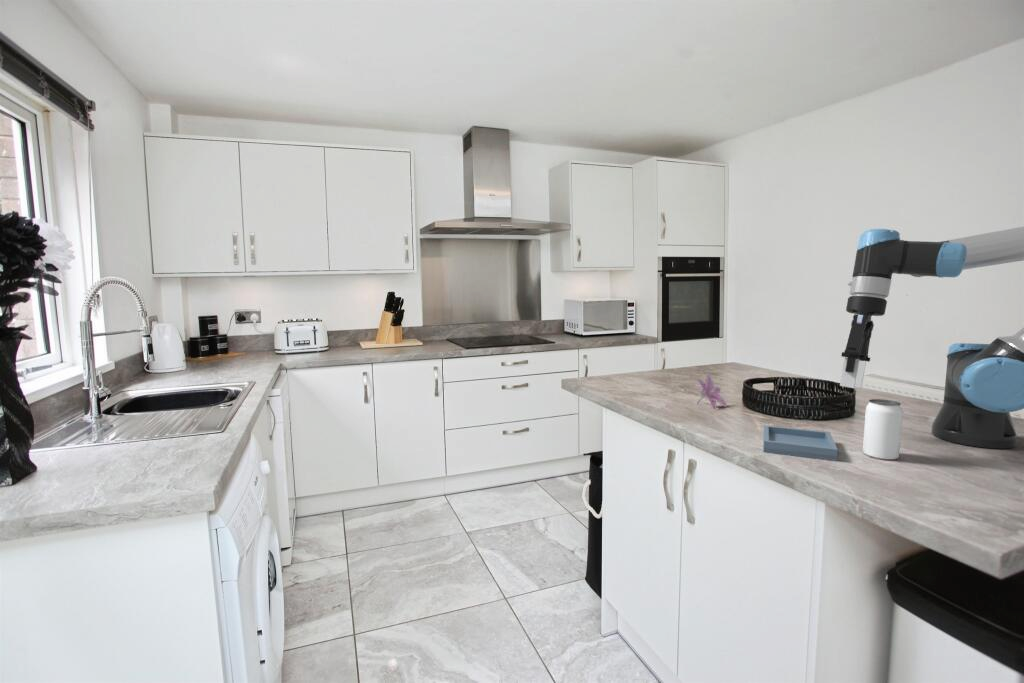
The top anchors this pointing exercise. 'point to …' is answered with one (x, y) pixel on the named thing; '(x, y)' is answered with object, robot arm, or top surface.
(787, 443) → the tray
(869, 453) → the can
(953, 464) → the top surface
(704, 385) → the lily
